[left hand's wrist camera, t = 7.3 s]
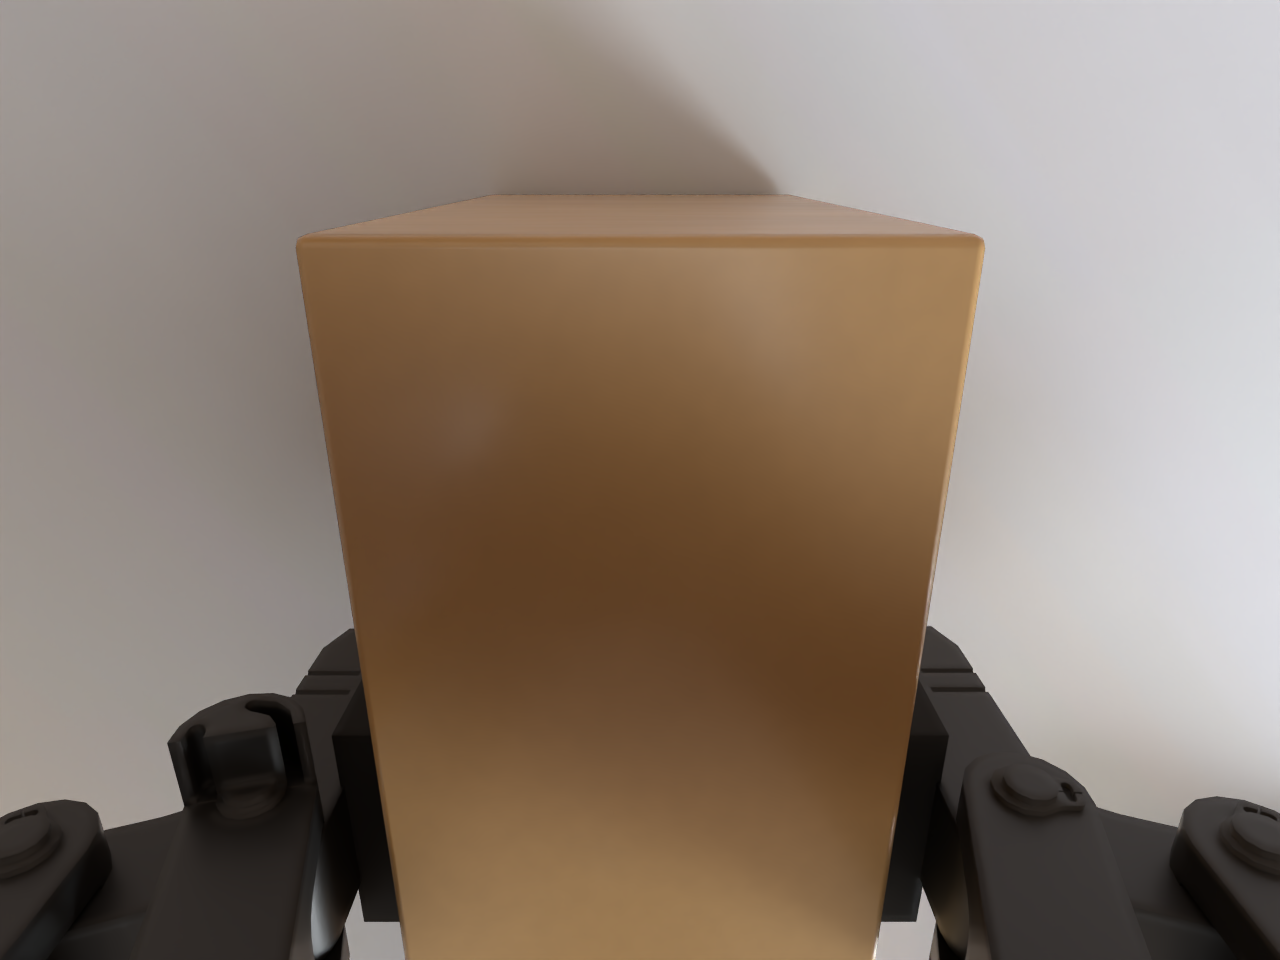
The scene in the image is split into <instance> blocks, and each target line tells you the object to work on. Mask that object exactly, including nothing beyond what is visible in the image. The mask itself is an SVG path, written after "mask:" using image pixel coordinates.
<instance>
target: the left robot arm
mask: <svg viewBox="0 0 1280 960" xmlns="http://www.w3.org/2000/svg"><path fill="white" fill-rule="evenodd" d="M167 744H168V748H169V751H170V755H171V759H172V762H173V766H174V770H175V773H176V777H177V781H178V784H179V788H180V792H181V795H182V799H183V803H184V809H183V811H181V812H177V813H174V814H171V815H167V816H164V817H160V818H156V819H152V820H147V821H143V822H139V823H134V824H130V825H126V826H121V827H117V828H113V829H108V830H103V827H102V824H101V821H100V818H99V815H98V812H96V811H95V810H94V809H93V808H92V807H90V806H89V805H88V804H87V803H84V802H78V801H71V800H58V801H51V802H44V803H37V804H34V805H32V806H29V807H26V808H23V809H20V810H17V811H14V812H11V813H8V814H6V815H5V816H3V817H1V818H0V960H349V955H350V953H349V947H348V941H347V935H346V929H345V922H346V919H347V917H348V914H349V912H350V909H351V907H352V904H353V901H354V899H355V896H356V894H357V891H358V889H359V894H360V900H361V906H362V911H363V917H364V922H400V921H399V914H398V908H397V901H396V895H395V888H394V882H393V875H392V869H391V862H390V856H389V849H388V843H387V836H386V830H385V823H384V817H383V810H382V804H381V797H380V791H379V784H378V778H377V771H376V765H375V758H374V752H373V745H372V739H371V732H370V726H369V719H368V713H367V706H366V700H365V694H364V687H363V681H362V674H361V668H360V661H359V655H358V648H357V642H356V635H355V629H349V630H347V631H346V632H345V633H343V634H342V635H341V636H339V637H338V638H336V639H335V640H334V641H332V642H331V643H330V644H328V645H327V646H326V647H324V648H323V649H322V651H321V652H320V654H319V655H318V657H317V658H316V660H315V662H314V663H313V665H312V666H311V668H310V669H309V671H308V676H305V677H304V678H303V680H302V681H301V683H300V685H299V686H298V688H297V689H296V694H295V695H292V697H291V698H290V697H286V696H282V695H278V694H275V693H265V694H248V695H244V696H240V697H236V698H232V699H227V700H224V701H221V702H219V703H217V704H215V705H213V706H210V707H208V708H206V709H204V710H202V711H200V712H198V713H197V714H195V715H194V716H193V717H191V718H190V719H189V720H187V721H186V722H185V723H183V724H182V725H181V726H179V728H178V729H177V730H176V732H175V733H174V734H173V736H172V737H171V739H170V740H169V741H168V743H167ZM922 886H923V888H924V891H925V894H926V896H927V899H928V901H929V904H930V906H931V909H932V912H933V914H934V917H935V919H936V924H935V929H934V935H933V940H932V945H931V951H930V956H929V960H1280V814H1279V813H1278V812H1276V811H1274V810H1271V809H1268V808H1265V807H1263V806H1259V805H1257V804H1254V803H1251V802H1248V801H1245V800H1239V799H1232V798H1225V797H1218V796H1216V797H1210V798H1203V799H1197V800H1195V801H1194V802H1192V803H1191V804H1190V805H1189V806H1188V807H1186V808H1185V809H1184V811H1183V814H1182V817H1181V820H1180V823H1179V826H1178V828H1177V827H1173V826H1169V825H1164V824H1160V823H1156V822H1151V821H1147V820H1143V819H1138V818H1134V817H1130V816H1125V815H1121V814H1117V813H1114V812H1111V811H1107V810H1104V809H1101V808H1098V807H1096V805H1095V803H1094V802H1093V800H1092V798H1091V797H1090V795H1089V794H1088V792H1087V790H1086V789H1085V787H1083V786H1082V785H1081V784H1080V783H1079V782H1078V781H1076V780H1075V779H1074V778H1073V777H1072V776H1070V775H1069V774H1068V773H1067V772H1066V771H1064V770H1062V769H1060V768H1058V767H1056V766H1054V765H1052V764H1050V763H1048V762H1046V761H1044V760H1042V759H1038V758H1035V757H1031V756H1030V755H1029V753H1028V752H1027V750H1026V749H1025V747H1024V746H1023V744H1022V743H1021V741H1020V740H1019V738H1018V737H1017V735H1016V733H1015V732H1014V730H1013V729H1012V727H1011V726H1010V724H1009V723H1008V721H1007V720H1006V718H1005V717H1004V715H1003V714H1002V712H1001V711H1000V709H999V708H998V706H997V705H996V703H995V702H994V700H993V698H992V697H991V695H990V694H989V692H985V686H984V685H983V683H982V682H981V680H980V679H979V677H978V676H977V674H976V673H973V668H972V667H971V665H970V664H969V662H968V660H967V659H966V657H965V656H964V654H963V653H962V651H961V650H960V648H959V647H958V646H957V645H956V644H955V643H953V642H952V641H951V640H949V639H948V638H946V637H945V636H944V635H942V634H941V633H940V632H938V631H937V630H936V629H934V628H933V627H931V626H926V633H925V639H924V646H923V652H922V659H921V665H920V672H919V678H918V685H917V691H916V697H915V704H914V710H913V717H912V723H911V730H910V736H909V743H908V749H907V756H906V762H905V769H904V775H903V781H902V788H901V794H900V801H899V807H898V814H897V820H896V827H895V833H894V840H893V846H892V853H891V859H890V865H889V872H888V878H887V885H886V891H885V898H884V904H883V911H882V917H881V922H916V920H917V914H918V909H919V903H920V897H921V892H922Z"/></svg>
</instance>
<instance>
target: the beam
mask: <svg viewBox="0 0 1280 960" xmlns="http://www.w3.org/2000/svg"><path fill="white" fill-rule="evenodd" d="M984 251H985V245H984V240H983V238H981V237H979V236H977V235H975V234H971V233H966V232H962V231H957V230H952V229H948V228H943V227H938V226H933V225H929V224H924V223H919V222H914V221H910V220H905V219H900V218H896V217H891V216H886V215H881V214H877V213H872V212H867V211H863V210H858V209H853V208H848V207H844V206H839V205H834V204H830V203H825V202H820V201H815V200H811V199H806V198H801V197H797V196H792V195H489V196H484V197H479V198H475V199H470V200H465V201H461V202H456V203H451V204H446V205H442V206H437V207H432V208H427V209H423V210H418V211H413V212H409V213H404V214H399V215H394V216H390V217H385V218H380V219H375V220H371V221H366V222H361V223H357V224H352V225H347V226H342V227H338V228H333V229H328V230H323V231H319V232H314V233H309V234H306V235H304V236H302V237H299V238H298V240H297V244H296V252H297V259H298V265H299V272H300V278H301V285H302V291H303V298H304V304H305V311H306V317H307V324H308V330H309V337H310V343H311V350H312V356H313V363H314V369H315V376H316V382H317V389H318V395H319V402H320V408H321V415H322V421H323V428H324V434H325V441H326V447H327V454H328V460H329V466H330V473H331V479H332V486H333V492H334V499H335V505H336V512H337V518H338V525H339V531H340V538H341V544H342V551H343V557H344V564H345V570H346V577H347V583H348V590H349V596H350V603H351V609H352V616H353V622H354V629H355V635H356V642H357V648H358V655H359V661H360V668H361V674H362V681H363V687H364V694H365V700H366V706H367V713H368V719H369V726H370V732H371V739H372V745H373V752H374V758H375V765H376V771H377V778H378V784H379V791H380V797H381V804H382V810H383V817H384V823H385V830H386V836H387V843H388V849H389V856H390V862H391V869H392V875H393V882H394V888H395V895H396V901H397V908H398V914H399V921H400V927H401V934H402V940H403V946H404V953H405V959H406V960H875V956H876V950H877V943H878V937H879V930H880V924H881V917H882V911H883V904H884V898H885V891H886V885H887V878H888V872H889V865H890V859H891V853H892V846H893V840H894V833H895V827H896V820H897V814H898V807H899V801H900V794H901V788H902V781H903V775H904V769H905V762H906V756H907V749H908V743H909V736H910V730H911V723H912V717H913V710H914V704H915V697H916V691H917V685H918V678H919V672H920V665H921V659H922V652H923V646H924V639H925V633H926V626H927V620H928V613H929V607H930V600H931V594H932V588H933V581H934V575H935V568H936V562H937V555H938V549H939V542H940V536H941V529H942V523H943V516H944V510H945V504H946V497H947V491H948V484H949V478H950V471H951V465H952V458H953V452H954V445H955V439H956V432H957V426H958V419H959V413H960V407H961V400H962V394H963V387H964V381H965V374H966V368H967V361H968V355H969V348H970V342H971V335H972V329H973V323H974V316H975V310H976V303H977V297H978V290H979V284H980V277H981V271H982V264H983V258H984Z"/></svg>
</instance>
